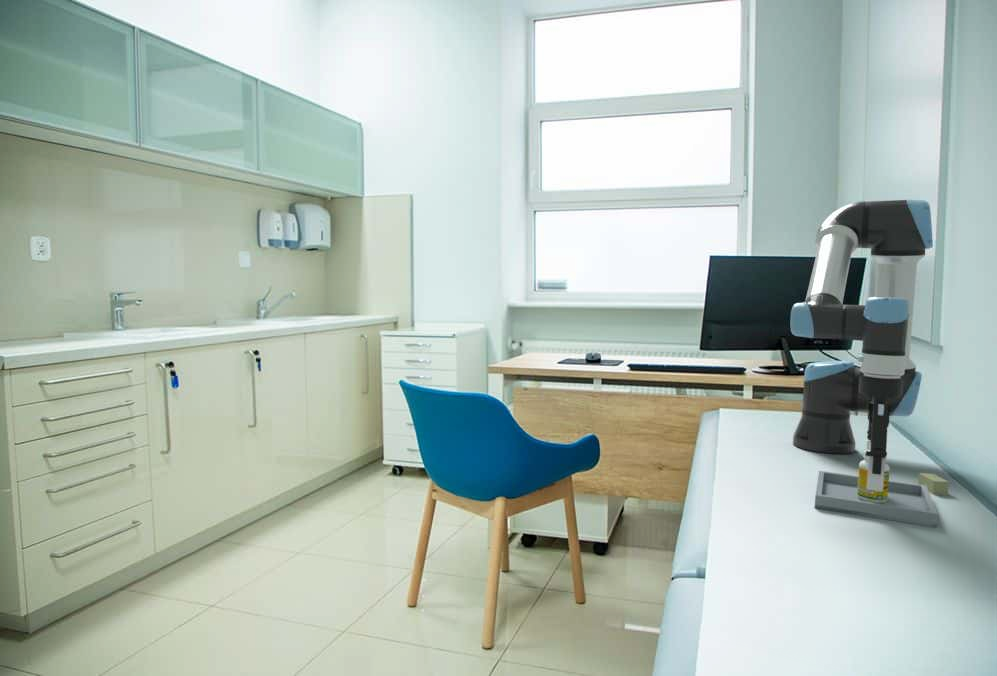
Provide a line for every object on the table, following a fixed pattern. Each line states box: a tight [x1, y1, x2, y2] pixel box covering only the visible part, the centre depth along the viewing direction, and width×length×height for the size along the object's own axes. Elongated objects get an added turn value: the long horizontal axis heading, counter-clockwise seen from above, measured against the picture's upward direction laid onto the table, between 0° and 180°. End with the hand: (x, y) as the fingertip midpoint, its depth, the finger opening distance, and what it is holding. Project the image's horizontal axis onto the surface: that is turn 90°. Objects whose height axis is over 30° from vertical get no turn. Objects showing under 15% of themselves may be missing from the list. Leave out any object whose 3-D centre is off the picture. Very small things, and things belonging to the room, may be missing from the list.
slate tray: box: [814, 470, 939, 528], centre depth 135 cm, size 20×20×2 cm
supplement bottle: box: [857, 450, 891, 503], centre depth 134 cm, size 5×5×10 cm
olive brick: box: [918, 472, 950, 495], centre depth 144 cm, size 6×3×3 cm, turn 173°
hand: (873, 480), depth 134 cm, fingers open, 13 cm apart
